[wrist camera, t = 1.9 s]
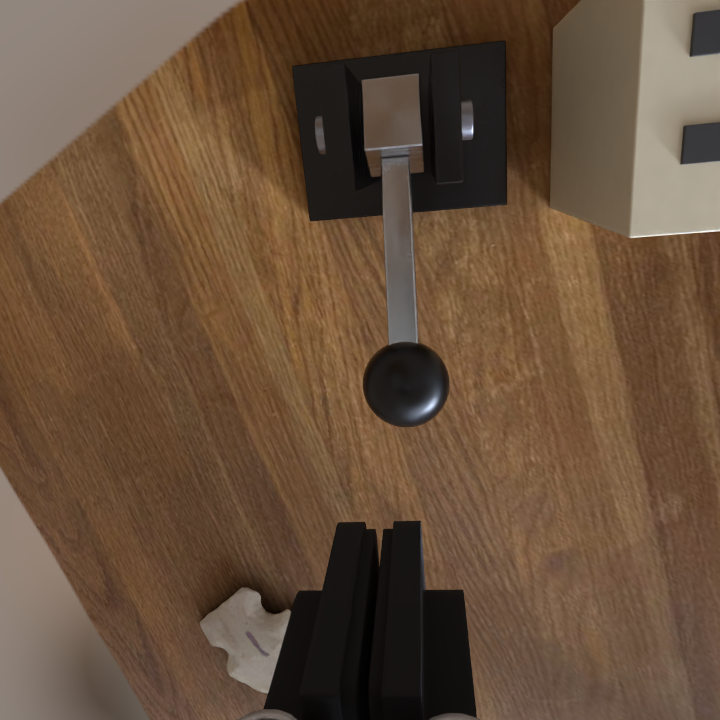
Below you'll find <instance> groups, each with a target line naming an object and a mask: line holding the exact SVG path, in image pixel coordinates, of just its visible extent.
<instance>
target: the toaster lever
mask: <svg viewBox="0 0 720 720" xmlns="http://www.w3.org/2000/svg"><path fill="white" fill-rule="evenodd" d="M361 100H362V124H363V148H364V153H365V157H366V161H367V164H368V168H369V172H370V175H371V177H376V176H381V186H382V209H383V231H384V254H385V276H386V298H387V321H388V343H389V345H387V346H385V347H383V348H382V349H380V350H379V351H378V352H377V353H376V354H375V355H374V356H373V357H372V358H371V359H370V361H369V363H368V365H367V367H366V369H365V373H364V377H363V391H364V395H365V398H366V401H367V403H368V405H369V407H370V408H371V410H372V411H373V412H374V413H375V414H376V415H377V416H378V417H379V418H380V419H382V420H383V421H385V422H387V423H389V424H391V425H394V426H399V427H414V426H419V425H421V424H424V423H426V422H428V421H430V420H431V419H432V418H434V417H435V416H436V415H437V414H438V413H439V412H440V411H441V409H442V408H443V406H444V404H445V402H446V400H447V397H448V394H449V375H448V371H447V369H446V366H445V364H444V362H443V361H442V359H441V358H440V357H439V355H438V354H437V353H436V352H435V351H433V350H432V349H431V348H429V347H427V346H426V345H423V344H421V343H419V332H418V312H417V292H416V272H415V252H414V233H413V213H412V193H411V173H419V172H424V149H423V129H422V111H421V92H420V75H419V74H410V75H401V76H392V77H384V78H375V79H366V80H361Z"/></svg>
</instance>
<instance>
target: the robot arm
mask: <svg viewBox="0 0 720 720" xmlns="http://www.w3.org/2000/svg"><path fill="white" fill-rule="evenodd" d="M238 720H479V719H478V718H477V715H476V705H475V696H474V686H473V677H472V667H471V658H470V648H469V639H468V629H467V620H466V610H465V601H464V592H463V590H425V576H424V560H423V545H422V530H421V521H394V524H393V529H384V530H383V538H382V548H381V559H380V566H379V556H378V545H377V535H376V530H375V529H366V524H365V522H339V523H338V524H337V527H336V532H335V536H334V541H333V545H332V549H331V554H330V558H329V563H328V567H327V572H326V576H325V581H324V585H323V589H322V591H299V592H298V593H297V595H296V598H295V600H294V604H293V607H292V611H291V614H290V618H289V622H288V625H287V629H286V632H285V636H284V639H283V643H282V646H281V650H280V653H279V657H278V660H277V664H276V667H275V671H274V674H273V678H272V681H271V685H270V688H269V692H268V695H267V699H266V703H265V706H264V709H263V710H259V711H255V712H252V713H249V714H247V715H245V716H243V717H241V718H239V719H238Z"/></svg>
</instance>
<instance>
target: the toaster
mask: <svg viewBox="0 0 720 720" xmlns="http://www.w3.org/2000/svg"><path fill="white" fill-rule="evenodd" d="M550 208H552V209H554V210H557V211H560V212H562V213H565V214H568V215H570V216H573V217H576V218H578V219H581V220H584V221H586V222H589V223H592V224H594V225H597V226H600V227H602V228H605V229H608V230H610V231H613V232H616V233H618V234H621V235H624V236H626V237H629V238H635V237H648V236H661V235H675V234H688V233H701V232H714V231H720V0H581V1H580V2H579V3H578V4H577V5H576V6H575V7H574V8H573V9H572V10H571V11H570V12H569V13H568V14H567V15H566V16H565V17H564V18H563V19H562V20H561V21H560V22H559V23H558V24H557V25H556V26H555V27H554V28H553V57H552V117H551V178H550Z"/></svg>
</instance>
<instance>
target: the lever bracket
mask: <svg viewBox="0 0 720 720" xmlns="http://www.w3.org/2000/svg"><path fill="white" fill-rule="evenodd" d="M292 72H293V81H294V89H295V98H296V106H297V115H298V124H299V132H300V141H301V149H302V158H303V166H304V175H305V184H306V192H307V201H308V209H309V218H310V221H319V220H331V219H343V218H355V217H367V216H378V215H383V209H382V186H381V176H376V177H371V175H370V172H369V168H368V164H367V161H366V157H365V153H364V148H363V124H362V100H361V80H366V79H375V78H384V77H392V76H401V75H410V74H419V75H420V92H421V111H422V129H423V149H424V172H419V173H411V193H412V213H414V212H426V211H438V210H449V209H461V208H473V207H485V206H497V205H506V204H507V140H506V41H505V40H504V41H495V42H487V43H479V44H470V45H462V46H454V47H445V48H437V49H429V50H420V51H412V52H404V53H396V54H387V55H379V56H371V57H362V58H354V59H346V60H337V61H329V62H321V63H312V64H304V65H296V66H292Z"/></svg>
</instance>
